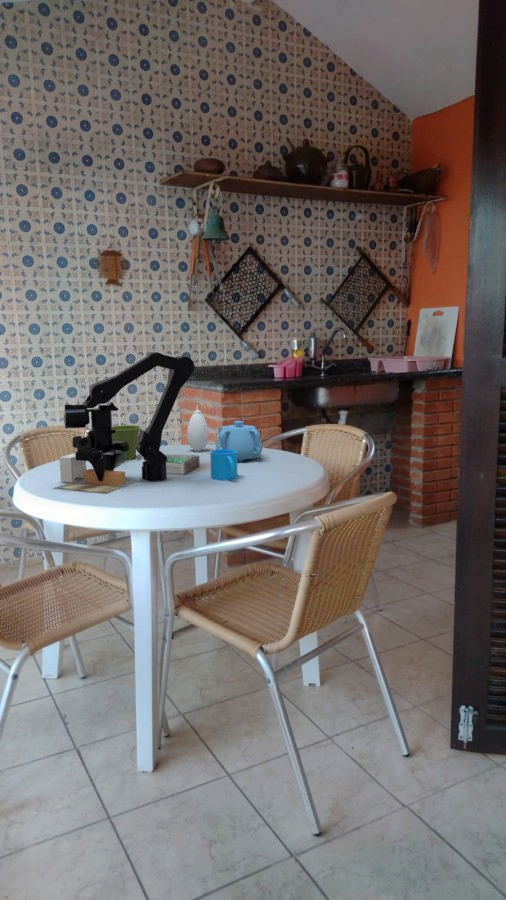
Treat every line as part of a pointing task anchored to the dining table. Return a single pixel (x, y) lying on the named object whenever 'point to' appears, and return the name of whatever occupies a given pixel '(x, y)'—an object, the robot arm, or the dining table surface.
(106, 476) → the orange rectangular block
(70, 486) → the pad
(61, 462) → the block
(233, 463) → the mug
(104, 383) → the robot arm
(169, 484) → the dining table surface
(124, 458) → the handheld radio
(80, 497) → the dining table surface
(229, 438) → the decorative pot
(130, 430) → the plant pot
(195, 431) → the white air blower
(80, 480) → the board
